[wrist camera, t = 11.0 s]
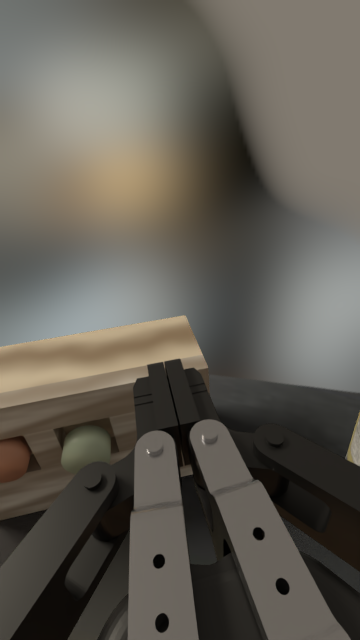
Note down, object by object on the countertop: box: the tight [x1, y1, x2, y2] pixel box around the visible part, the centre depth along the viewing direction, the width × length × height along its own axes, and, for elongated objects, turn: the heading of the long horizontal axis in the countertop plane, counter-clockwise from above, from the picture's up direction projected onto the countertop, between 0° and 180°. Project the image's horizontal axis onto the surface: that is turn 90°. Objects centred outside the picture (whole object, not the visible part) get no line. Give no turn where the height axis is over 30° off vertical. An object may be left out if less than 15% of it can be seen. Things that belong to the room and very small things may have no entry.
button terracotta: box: [0, 436, 32, 483], centre depth 27 cm, size 2×4×4 cm, turn 101°
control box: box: [0, 315, 210, 520], centre depth 33 cm, size 10×24×15 cm, turn 101°
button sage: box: [61, 425, 111, 474], centre depth 27 cm, size 2×4×4 cm, turn 101°
